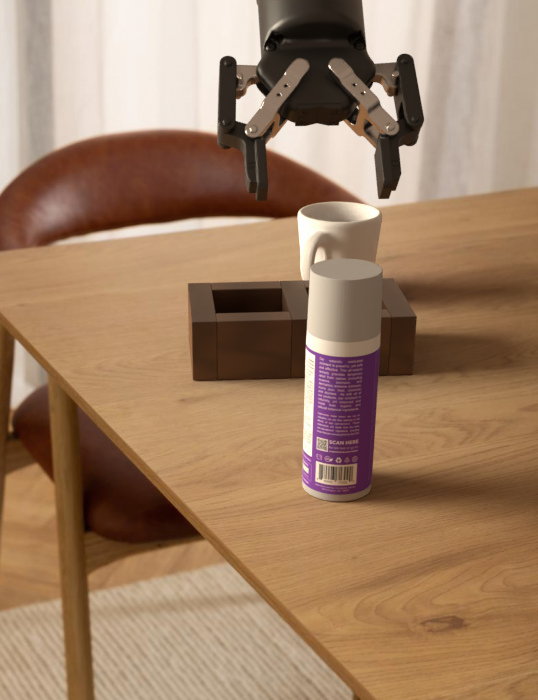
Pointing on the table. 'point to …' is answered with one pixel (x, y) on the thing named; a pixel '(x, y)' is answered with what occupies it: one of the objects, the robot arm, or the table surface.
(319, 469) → the container
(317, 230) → the cup
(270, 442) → the table surface
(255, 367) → the holder
